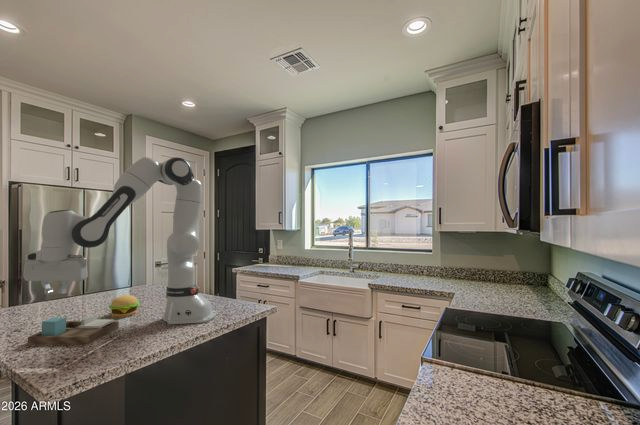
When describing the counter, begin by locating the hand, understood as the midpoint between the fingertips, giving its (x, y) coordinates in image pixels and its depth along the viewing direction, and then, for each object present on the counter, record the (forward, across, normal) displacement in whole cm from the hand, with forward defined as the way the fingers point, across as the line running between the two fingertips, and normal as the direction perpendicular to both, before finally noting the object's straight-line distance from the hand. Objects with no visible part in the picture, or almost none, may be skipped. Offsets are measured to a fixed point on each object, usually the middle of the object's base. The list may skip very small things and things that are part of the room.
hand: (55, 293), depth 103 cm
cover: (+14, -10, -8) cm, 18 cm away
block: (+16, 0, 0) cm, 16 cm away
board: (+17, -5, -4) cm, 18 cm away
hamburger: (+17, -4, -32) cm, 36 cm away
